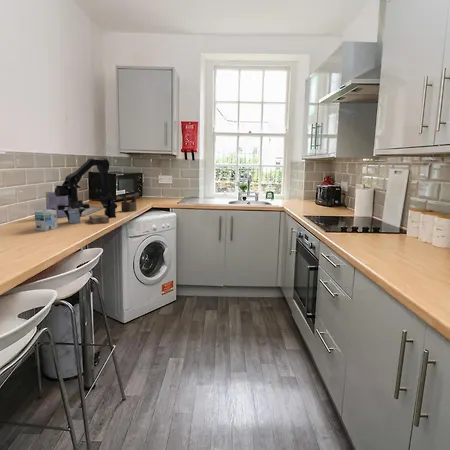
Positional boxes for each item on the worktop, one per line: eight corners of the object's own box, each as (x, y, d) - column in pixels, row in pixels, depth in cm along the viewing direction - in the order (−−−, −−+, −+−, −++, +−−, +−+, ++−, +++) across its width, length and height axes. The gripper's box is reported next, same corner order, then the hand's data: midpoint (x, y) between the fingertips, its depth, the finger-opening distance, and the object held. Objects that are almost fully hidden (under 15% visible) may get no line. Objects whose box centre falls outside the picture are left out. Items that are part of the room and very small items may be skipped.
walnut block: (105, 220, 241) (105, 214, 241) (109, 223, 233) (108, 217, 232) (89, 221, 236) (89, 215, 236) (92, 224, 228) (92, 218, 227)
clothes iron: (142, 209, 292) (142, 192, 290) (128, 212, 278) (128, 194, 276) (134, 208, 296) (134, 192, 293) (120, 211, 282) (120, 193, 279)
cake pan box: (72, 215, 259) (71, 190, 256) (76, 215, 256) (75, 190, 253) (46, 218, 243) (44, 191, 240) (50, 219, 241) (48, 192, 237)
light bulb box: (45, 231, 203) (44, 212, 201) (35, 230, 204) (33, 211, 202) (58, 227, 213) (57, 209, 211) (48, 227, 215) (46, 209, 213)
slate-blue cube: (78, 221, 236) (77, 211, 235) (80, 222, 231) (79, 213, 230) (68, 221, 233) (67, 212, 231) (70, 223, 228) (69, 213, 227)
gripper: (58, 197, 217) (60, 223, 220) (91, 196, 227) (92, 221, 230) (55, 195, 226) (57, 220, 229) (87, 194, 236) (88, 218, 239)
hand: (74, 220), depth 232 cm, fingers closed on slate-blue cube, 6 cm apart
